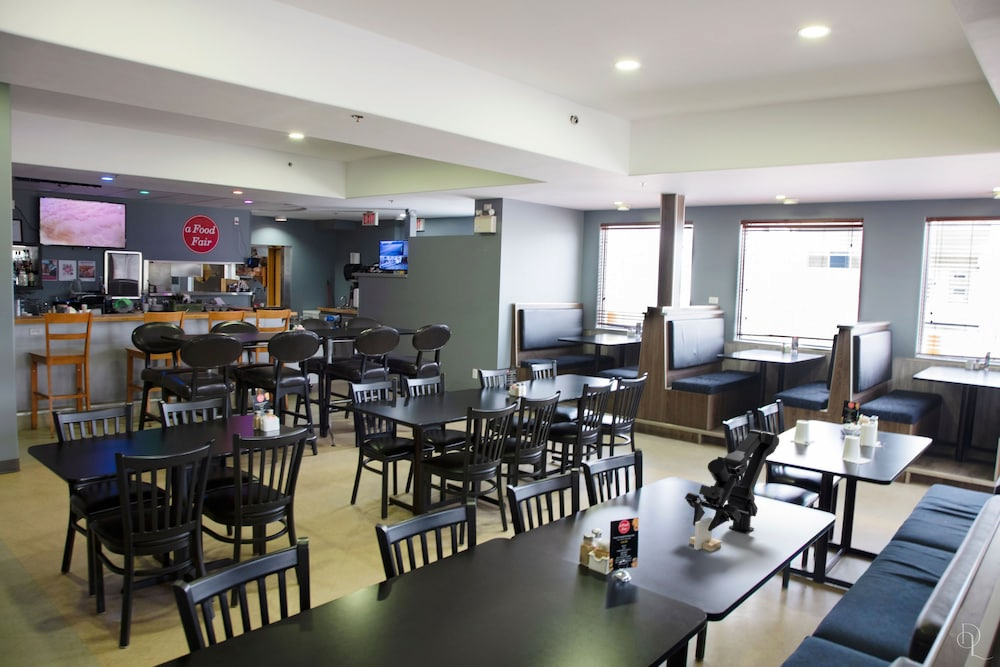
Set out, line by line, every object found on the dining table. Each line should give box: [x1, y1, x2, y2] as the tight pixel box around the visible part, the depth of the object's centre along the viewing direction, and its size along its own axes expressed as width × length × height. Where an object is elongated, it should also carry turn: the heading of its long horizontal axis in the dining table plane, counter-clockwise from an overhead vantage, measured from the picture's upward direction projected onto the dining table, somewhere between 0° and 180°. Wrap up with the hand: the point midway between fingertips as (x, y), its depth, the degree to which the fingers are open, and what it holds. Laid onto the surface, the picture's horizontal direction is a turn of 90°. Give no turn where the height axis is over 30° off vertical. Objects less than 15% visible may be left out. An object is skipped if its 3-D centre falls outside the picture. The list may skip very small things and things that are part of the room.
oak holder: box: [689, 535, 722, 552], centre depth 229 cm, size 6×8×2 cm
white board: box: [693, 516, 713, 551], centre depth 228 cm, size 8×1×9 cm, turn 130°
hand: (701, 528), depth 227 cm, fingers open, 5 cm apart
